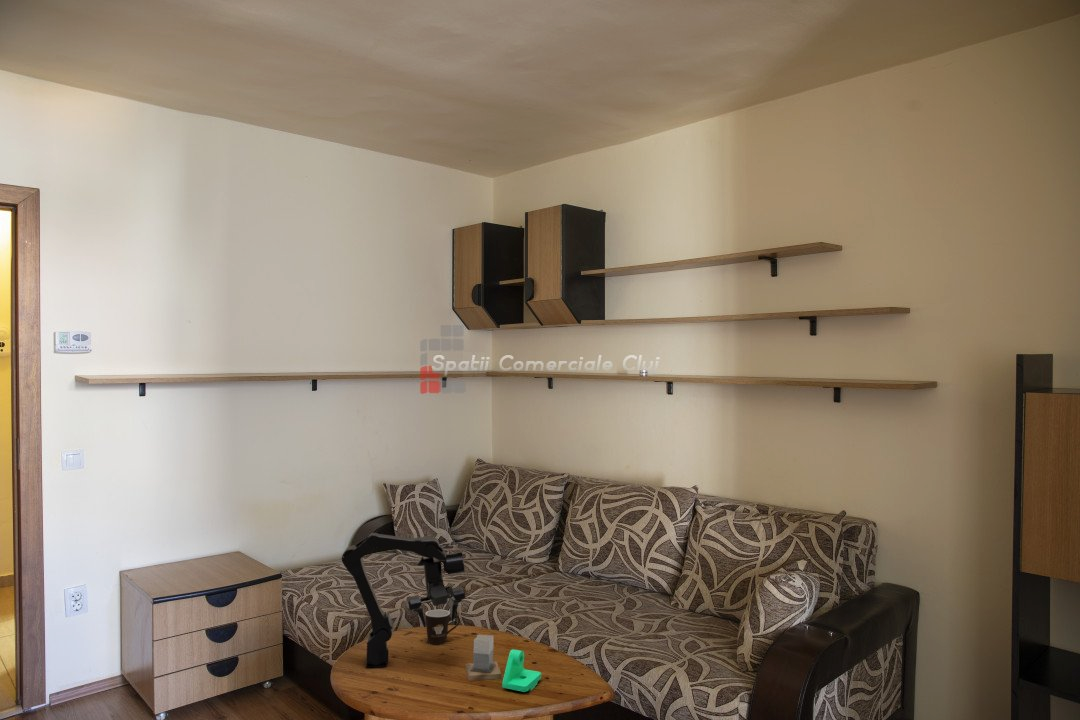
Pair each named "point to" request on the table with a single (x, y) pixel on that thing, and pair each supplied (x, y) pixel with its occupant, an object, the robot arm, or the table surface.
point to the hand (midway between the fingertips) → (438, 624)
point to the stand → (483, 676)
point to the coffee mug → (438, 626)
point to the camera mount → (519, 673)
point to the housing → (483, 654)
